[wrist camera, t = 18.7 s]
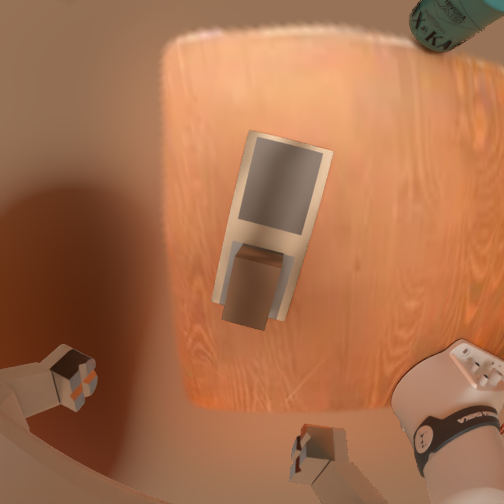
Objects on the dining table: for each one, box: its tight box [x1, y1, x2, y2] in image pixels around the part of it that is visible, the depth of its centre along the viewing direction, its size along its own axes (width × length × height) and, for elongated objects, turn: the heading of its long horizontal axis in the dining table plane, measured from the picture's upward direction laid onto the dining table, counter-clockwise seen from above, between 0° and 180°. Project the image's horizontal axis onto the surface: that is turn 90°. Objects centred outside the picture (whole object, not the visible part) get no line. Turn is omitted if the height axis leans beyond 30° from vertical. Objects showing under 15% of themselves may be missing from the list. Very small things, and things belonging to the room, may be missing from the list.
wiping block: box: [222, 243, 284, 331], centre depth 32 cm, size 4×7×5 cm, turn 167°
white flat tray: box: [211, 130, 333, 321], centre depth 34 cm, size 9×20×2 cm, turn 167°
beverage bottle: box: [409, 0, 504, 52], centre depth 15 cm, size 6×7×20 cm
